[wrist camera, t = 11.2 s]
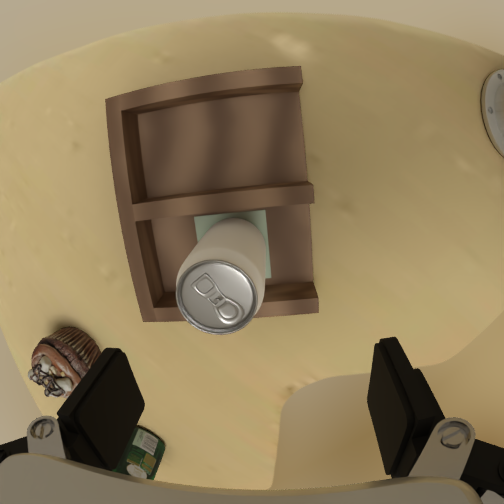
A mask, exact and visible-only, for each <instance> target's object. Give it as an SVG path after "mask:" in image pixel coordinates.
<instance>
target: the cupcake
mask: <svg viewBox="0 0 504 504" xmlns="http://www.w3.org/2000/svg"><path fill="white" fill-rule="evenodd" d="M100 355H101V352H100V350H99V347H98V346H97V345H96V343H95V341H94V340H92V339H91V338H90V337H89V336H88V335H87V334H86V333H85V332H83V331H81V330H79V329H78V328H75V327H67V328H62V329H61V330H59V331H57V332H55V333H53V334H52V335H50V336H48V337H45V338H42V340H41V341H40V342H39V343H38V345H37V347H36V348H35V349H34V351H33V354H32V369H31V370H30V371H29V372H28V377H29V379H30V380H33V381H34V382H36V383H37V384H38V385H43V387H45V388H46V389H45V391H44V394H45V395H46V396H47V397H49V396H53V397H59V396H61V397H64V398H68V397H69V395H70V394H71V393H72V391H73V390H74V389H75V387H76V386H77V385H78V383H79V382H80V381H81V379H82V378H83V377H84V375H85V374H86V373H87V372H88V370H89V369H90V368H91V366H92V365H93V364H94V362H95V361H96V360H97V359H98V357H99V356H100Z"/></svg>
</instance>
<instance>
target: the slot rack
mask: <svg viewBox="0 0 504 504" xmlns="http://www.w3.org/2000/svg"><path fill="white" fill-rule="evenodd" d="M302 84H303V79H302V72H301V66H292V67H276V68H264V69H253V70H244V71H235V72H228V73H221V74H214V75H207V76H201V77H196V78H190V79H185V80H180V81H175V82H170V83H165V84H161V85H156V86H152V87H148V88H144V89H140V90H136V91H132V92H128V93H125V94H121V95H118V96H114V97H111V98H108V99H105V102H106V116H107V128H108V138H109V148H110V157H111V165H112V172H113V180H114V187H115V193H116V200H117V206H118V212H119V217H120V223H121V228H122V234H123V239H124V244H125V249H126V253H127V258H128V263H129V267H130V272H131V276H132V280H133V284H134V288H135V292H136V296H137V300H138V304H139V308H140V312H141V316H142V319H143V322H169V321H187V320H186V319H185V318H184V317H183V315H182V314H181V312H180V310H179V308H178V305H177V302H176V280H177V275H178V272H179V270H180V268H181V266H182V264H183V262H184V261H185V259H186V258H187V257H188V255H189V254H190V253H191V251H192V250H193V249H194V247H195V246H196V245H197V244H198V242H199V241H200V240H201V238H202V237H203V236H204V235H205V233H206V232H207V231H208V230H209V229H210V228H211V227H212V226H213V225H214V224H215V223H217V222H219V221H221V220H223V219H227V218H239V219H243V220H246V221H248V222H250V223H252V224H253V225H254V226H256V227H257V228H258V230H259V231H260V232H261V234H262V236H263V238H264V241H265V245H266V272H265V291H264V298H263V301H262V304H261V306H260V308H259V310H258V312H257V313H256V314H255V315H254V317H253V318H259V317H273V316H286V315H298V314H309V313H319V302H318V295H317V292H316V289H315V286H314V283H313V264H312V242H311V224H310V208H309V204H311V203H314V189H313V184H311V183H310V182H308V180H307V168H306V156H305V146H304V135H303V126H302V116H301V107H300V99H299V90H300V88H301V86H302Z"/></svg>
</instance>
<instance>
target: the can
mask: <svg viewBox="0 0 504 504" xmlns="http://www.w3.org/2000/svg"><path fill="white" fill-rule="evenodd" d="M265 272H266V245H265V241H264V238H263V236H262V234H261V232H260V231H259V230H258V228H257V227H256V226H254V225H253V224H252V223H250V222H248V221H246V220H243V219H239V218H227V219H223V220H221V221H219V222H217V223H215V224H214V225H213V226H212V227H211V228H210V229H209V230H208V231H207V232H206V233H205V235H204V236H203V237H202V238H201V240H200V241H199V242H198V244H197V245H196V246H195V247H194V249H193V250H192V251H191V253H190V254H189V255H188V257H187V258H186V259H185V261H184V262H183V264H182V266H181V268H180V270H179V272H178V275H177V280H176V302H177V305H178V308H179V310H180V312H181V314H182V315H183V317H184V318H185V319H186V320H187V321H188V322H189V323H190V324H191V325H192V326H194V327H195V328H197V329H199V330H201V331H203V332H206V333H209V334H215V335H225V334H230V333H234V332H236V331H239V330H241V329H242V328H244V327H245V326H246V325H247V324H248V323H249V322H250V321H251V320H252V318H253V317H254V315H255V314H256V313H257V312H258V310H259V308H260V306H261V304H262V301H263V298H264V291H265Z"/></svg>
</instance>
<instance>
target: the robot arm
mask: <svg viewBox="0 0 504 504" xmlns="http://www.w3.org/2000/svg"><path fill="white" fill-rule="evenodd" d="M481 104H482V114H483V119H484V123H485V126H486V129H487V132H488V135H489V137H490V139H491V141H492V143H493V144H494V146H495V148H496V149H497V150H498V152H499V153H500V154H501V155H502V156H503V157H504V69H501V70H497V71H494V72H493V73H491V74H490V75H489V76H488V78H487V79H486V81H485V83H484V86H483V90H482V100H481ZM367 403H368V408H369V411H370V415H371V419H372V422H373V425H374V430H375V433H376V437H377V441H378V445H379V449H380V453H381V457H382V461H383V465H384V469H385V473H386V475H390V474H391V477H392V479H386V480H380V481H372V482H365V483H358V484H350V485H342V486H332V487H320V488H308V489H288V490H242V489H222V488H209V487H199V486H190V485H182V484H174V483H167V482H161V481H155V480H150V479H144V478H139V477H134V476H129V475H125V474H121V473H116V472H112V470H114V469H116V467H117V465H118V463H119V461H120V459H121V457H122V455H123V453H124V450H125V448H126V446H127V444H128V442H129V440H130V438H131V435H132V433H133V431H134V429H135V427H136V425H137V423H138V421H139V419H140V416H141V414H142V412H143V410H144V407H145V403H144V399H143V397H142V395H141V392H140V390H139V387H138V385H137V383H136V380H135V377H134V375H133V372H132V370H131V367H130V364H129V362H128V359H127V356H126V354H125V353H124V352H122V350H121V349H119V348H106V349H105V350H104V351H103V352H102V353H101V355H100V356H99V357H98V359H97V360H96V361H95V362H94V364H93V365H92V366H91V368H90V369H89V370H88V372H87V373H86V374H85V375H84V377H83V378H82V379H81V381H80V382H79V383H78V385H77V386H76V387H75V389H74V390H73V391H72V393H71V394H70V395H69V397H68V398H67V400H66V401H65V402H64V404H63V405H62V406H61V408H60V409H59V410H58V412H57V415H58V416H59V418H58V419H57V420H56V419H55V418H54V417H51V416H42V417H39V418H36V419H35V420H34V421H32V422H31V424H30V425H29V427H28V429H27V436H26V437H23V438H20V439H17V440H14V441H11V442H8V443H5V444H2V445H0V504H504V448H501V447H498V446H495V445H492V444H489V443H486V442H483V441H480V440H477V439H475V430H474V428H473V427H472V425H471V424H470V423H469V422H468V421H466V420H464V419H461V418H456V417H453V418H447V419H445V417H444V415H443V412H442V411H441V409H440V407H439V405H438V402H437V401H436V399H435V397H434V395H433V393H432V391H431V389H430V387H429V385H428V383H427V381H426V379H425V377H424V376H423V374H422V372H421V371H420V369H418V368H417V369H413V368H412V366H411V364H410V362H409V360H408V358H407V356H406V354H405V352H404V351H403V349H402V347H401V345H400V343H399V341H398V339H397V338H396V337H390V338H383V339H380V341H379V343H376V344H375V346H374V354H373V362H372V369H371V377H370V384H369V390H368V396H367Z"/></svg>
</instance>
